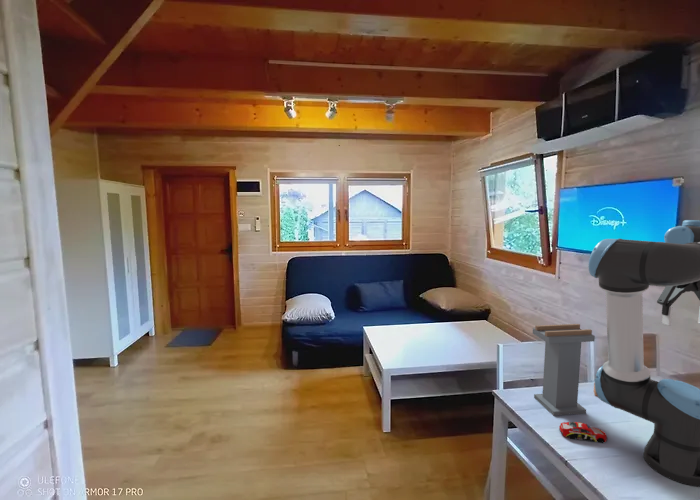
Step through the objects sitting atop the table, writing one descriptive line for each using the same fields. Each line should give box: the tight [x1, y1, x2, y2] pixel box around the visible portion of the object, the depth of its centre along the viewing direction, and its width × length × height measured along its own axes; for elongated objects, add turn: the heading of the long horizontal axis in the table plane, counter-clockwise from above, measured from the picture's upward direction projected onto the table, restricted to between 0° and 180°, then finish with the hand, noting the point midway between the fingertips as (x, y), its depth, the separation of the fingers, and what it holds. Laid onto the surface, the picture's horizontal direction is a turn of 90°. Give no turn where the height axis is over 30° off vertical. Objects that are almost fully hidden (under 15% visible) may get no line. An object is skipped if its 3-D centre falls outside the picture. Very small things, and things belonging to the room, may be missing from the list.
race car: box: [558, 421, 608, 444], centre depth 121 cm, size 13×5×4 cm, turn 73°
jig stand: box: [532, 323, 596, 417], centre depth 137 cm, size 16×12×30 cm
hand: (684, 324), depth 133 cm, fingers open, 13 cm apart
